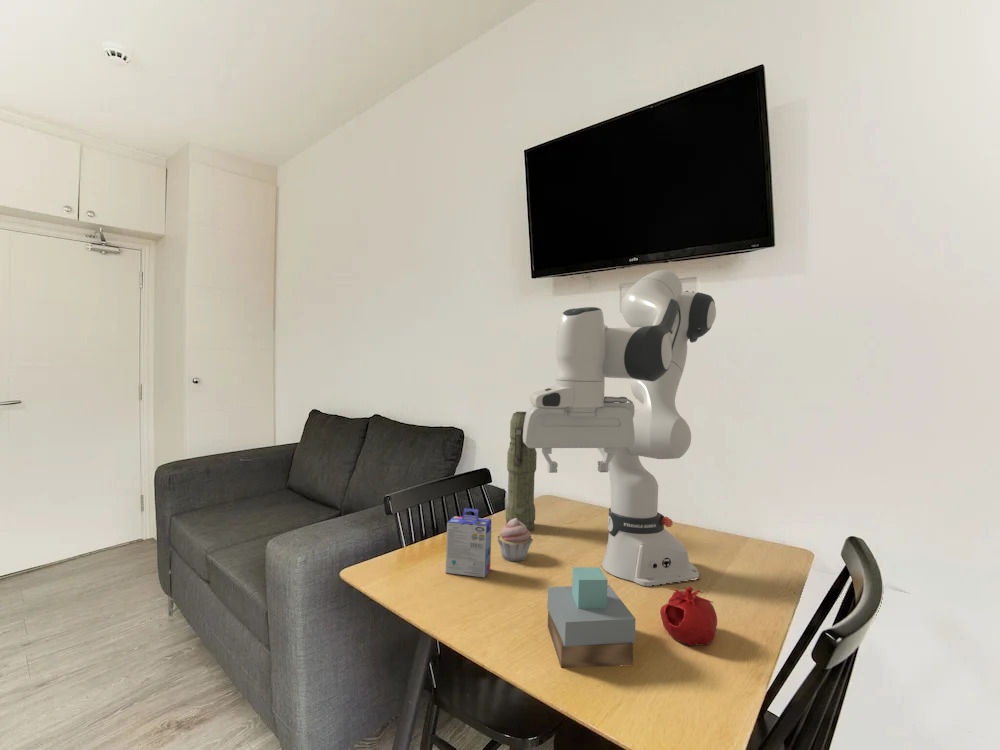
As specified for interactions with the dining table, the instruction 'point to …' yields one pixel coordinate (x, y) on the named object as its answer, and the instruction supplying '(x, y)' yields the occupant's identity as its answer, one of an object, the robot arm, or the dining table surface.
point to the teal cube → (589, 588)
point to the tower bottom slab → (590, 652)
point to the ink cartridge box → (468, 545)
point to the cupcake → (514, 541)
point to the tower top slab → (590, 619)
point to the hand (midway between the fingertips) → (577, 471)
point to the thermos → (520, 475)
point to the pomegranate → (689, 617)
